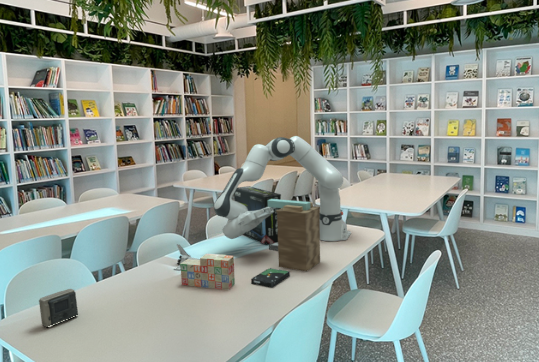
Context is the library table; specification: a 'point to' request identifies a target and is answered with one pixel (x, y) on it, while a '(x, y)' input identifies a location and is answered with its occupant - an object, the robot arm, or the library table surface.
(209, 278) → the stack of blocks
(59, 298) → the camera
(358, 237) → the library table surface
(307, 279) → the library table surface
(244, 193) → the router box
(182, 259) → the space shuttle model
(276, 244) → the graphics card
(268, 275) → the disk drive
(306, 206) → the batten
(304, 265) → the brown tall textured block
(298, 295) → the library table surface
